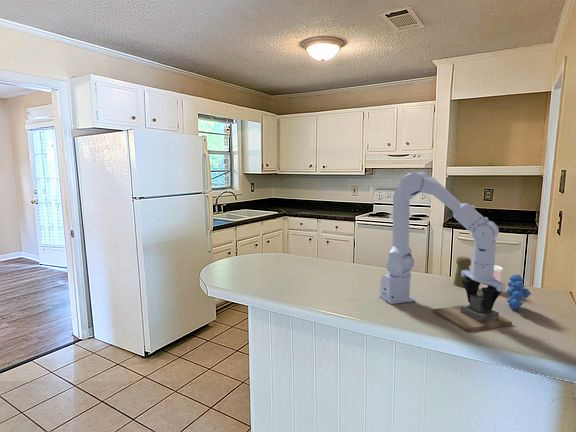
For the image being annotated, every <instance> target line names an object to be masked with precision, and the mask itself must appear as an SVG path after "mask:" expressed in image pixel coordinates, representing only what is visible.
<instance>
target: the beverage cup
mask: <svg viewBox="0 0 576 432" xmlns="http://www.w3.org/2000/svg"><path fill="white" fill-rule="evenodd" d="M503 269H504V268H503V267H502V266H500V265H496V264H494V274H493V276H495V279H496V280H498V281H499V282H501V276H502V272H503ZM484 287H488V286H487V285H484V284H483V288H484Z"/></svg>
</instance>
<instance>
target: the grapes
mask: <svg viewBox="0 0 576 432" xmlns="http://www.w3.org/2000/svg"><path fill="white" fill-rule="evenodd" d="M508 279H509V282H508V283H507V285H508V287H509V288H508V289H507V290H506V292H505V293H506V294H507V296H508V297H509V298H508V299H507V300H506V302H507V303H508V304H507V305H508V306H509V308H510V309H511V310H512V311H517V310H518V309H519V308H521V307H522V305H523V302H522V300H523V299H524V298H525V299H526V298H528V297H530V296H531V295H532V292H531V291H530V290H529V289H528V288H525V287H526V286H525V284H524V283H523V281H524V278H523V276H522V275H520V274H516V273H515V274H512V275H511V276H510V277H509V278H508Z"/></svg>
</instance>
